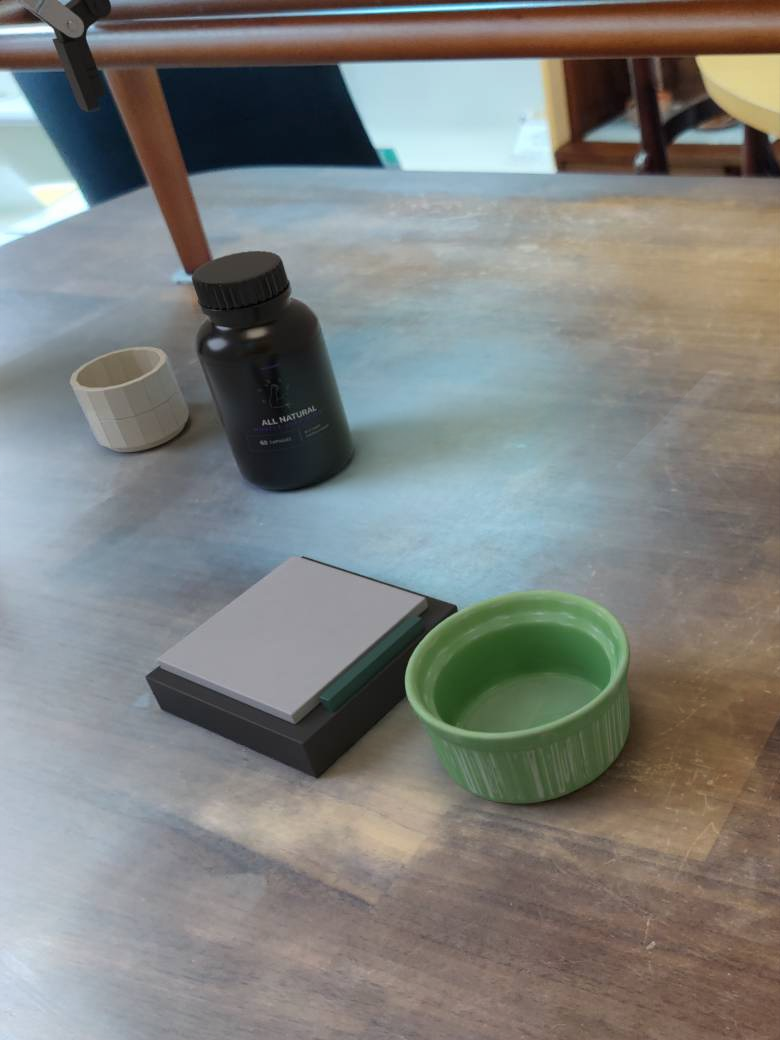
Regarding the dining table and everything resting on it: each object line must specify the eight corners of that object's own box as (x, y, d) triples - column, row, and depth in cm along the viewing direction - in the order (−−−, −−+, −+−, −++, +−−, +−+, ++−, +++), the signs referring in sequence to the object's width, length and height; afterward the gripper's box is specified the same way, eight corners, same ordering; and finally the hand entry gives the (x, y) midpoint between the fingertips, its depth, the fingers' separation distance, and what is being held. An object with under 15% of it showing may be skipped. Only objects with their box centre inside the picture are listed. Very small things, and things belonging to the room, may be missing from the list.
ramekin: (491, 653, 55) (471, 575, 52) (674, 686, 52) (663, 606, 49) (389, 791, 49) (360, 712, 46) (589, 839, 45) (571, 757, 43)
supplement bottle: (304, 503, 67) (234, 300, 60) (218, 482, 70) (141, 287, 63) (381, 443, 72) (324, 247, 64) (296, 426, 75) (232, 237, 67)
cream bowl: (80, 445, 76) (50, 381, 73) (152, 403, 80) (126, 341, 77) (139, 463, 74) (110, 397, 71) (210, 418, 77) (185, 354, 74)
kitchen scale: (160, 709, 55) (138, 665, 53) (314, 587, 61) (298, 544, 59) (316, 778, 50) (297, 732, 48) (466, 638, 56) (454, 593, 54)
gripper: (-294, -197, 52) (-104, 180, 62) (34, -248, 58) (159, 105, 68) (-305, -195, 57) (-128, 154, 67) (-3, -241, 63) (119, 86, 73)
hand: (16, 129), depth 68 cm, fingers open, 8 cm apart
